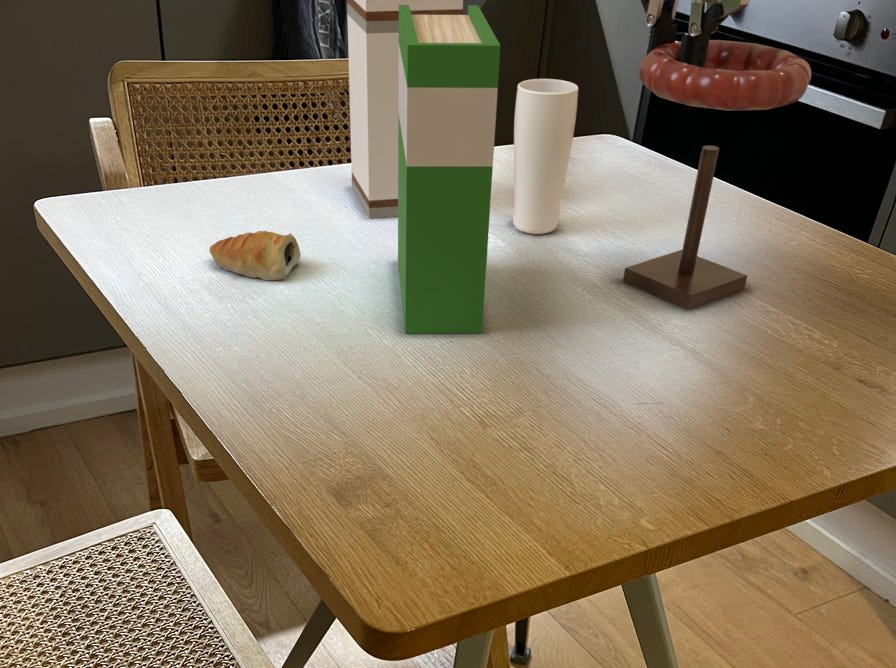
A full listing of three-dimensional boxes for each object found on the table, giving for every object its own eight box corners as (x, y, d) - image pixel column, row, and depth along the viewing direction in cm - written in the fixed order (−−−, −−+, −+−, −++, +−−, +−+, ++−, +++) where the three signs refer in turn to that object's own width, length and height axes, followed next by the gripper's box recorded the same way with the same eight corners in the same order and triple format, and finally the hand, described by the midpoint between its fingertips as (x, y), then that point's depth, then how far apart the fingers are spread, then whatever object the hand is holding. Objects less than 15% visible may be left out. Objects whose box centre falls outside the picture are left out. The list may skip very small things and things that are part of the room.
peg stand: (744, 289, 102) (778, 151, 93) (687, 310, 98) (717, 167, 89) (678, 263, 107) (704, 129, 98) (622, 281, 103) (644, 144, 94)
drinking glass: (554, 216, 118) (569, 77, 108) (570, 236, 113) (587, 92, 103) (500, 219, 117) (510, 79, 107) (514, 239, 112) (525, 94, 102)
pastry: (201, 273, 103) (196, 236, 101) (227, 251, 108) (223, 216, 105) (283, 283, 101) (280, 246, 99) (306, 261, 106) (304, 225, 104)
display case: (454, 212, 118) (469, -157, 95) (369, 218, 116) (363, -158, 93) (432, 183, 127) (440, -164, 103) (352, 188, 125) (342, -164, 101)
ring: (837, 97, 89) (848, 60, 87) (734, 123, 82) (743, 83, 80) (708, 65, 97) (715, 30, 95) (605, 86, 90) (610, 49, 88)
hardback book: (397, 263, 106) (398, 4, 90) (465, 263, 106) (478, 5, 90) (405, 333, 93) (407, 44, 77) (482, 333, 93) (500, 45, 77)
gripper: (825, -166, 78) (766, 90, 90) (669, -176, 87) (635, 57, 100) (767, -165, 74) (714, 102, 87) (611, -175, 84) (583, 66, 96)
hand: (672, 76), depth 93 cm, fingers closed on ring, 3 cm apart
